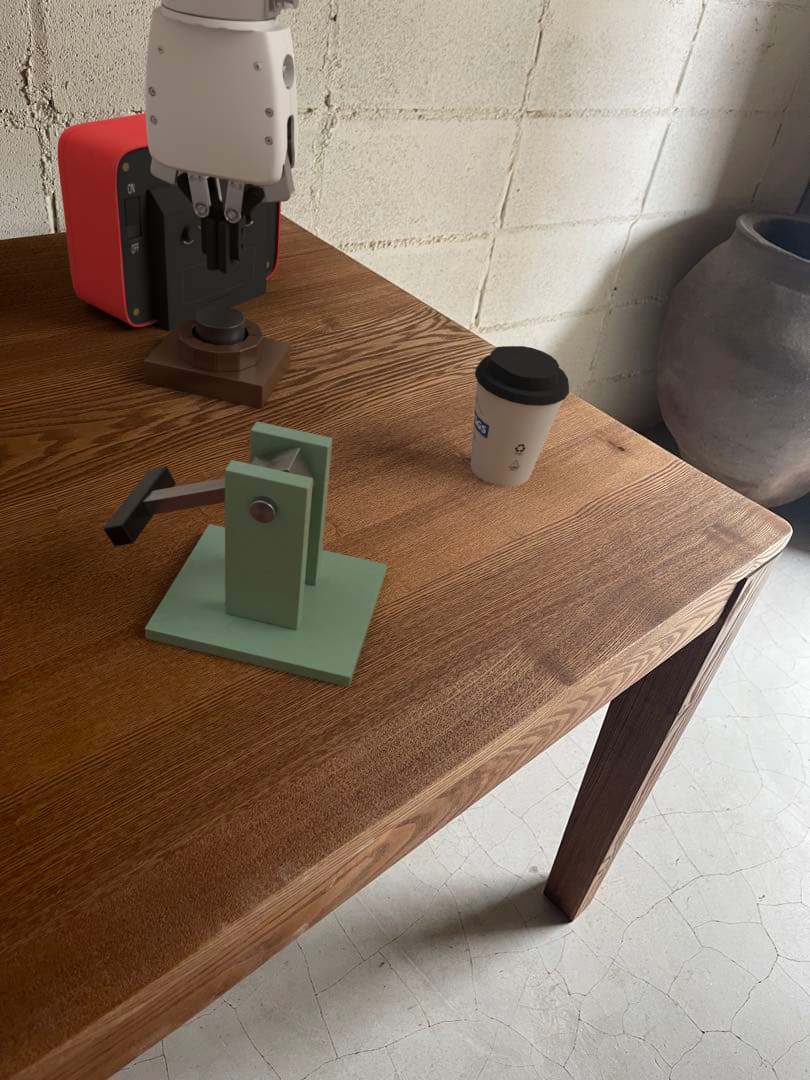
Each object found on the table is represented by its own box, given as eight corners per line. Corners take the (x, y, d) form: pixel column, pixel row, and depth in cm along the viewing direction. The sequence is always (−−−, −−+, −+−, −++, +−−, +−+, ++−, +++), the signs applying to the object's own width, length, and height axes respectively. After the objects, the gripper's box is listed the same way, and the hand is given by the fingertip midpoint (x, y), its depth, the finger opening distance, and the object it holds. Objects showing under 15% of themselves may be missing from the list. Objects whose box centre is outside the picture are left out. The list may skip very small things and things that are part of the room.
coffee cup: (549, 465, 70) (581, 354, 63) (533, 512, 64) (566, 396, 58) (466, 441, 71) (490, 330, 64) (444, 486, 65) (468, 369, 59)
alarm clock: (293, 286, 89) (302, 124, 79) (143, 346, 76) (131, 159, 66) (226, 256, 93) (226, 97, 83) (71, 308, 79) (49, 125, 69)
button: (187, 341, 70) (187, 321, 69) (206, 321, 73) (205, 302, 72) (235, 351, 70) (235, 331, 69) (251, 331, 73) (251, 311, 72)
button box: (145, 384, 71) (142, 340, 69) (182, 342, 77) (181, 300, 75) (261, 409, 70) (263, 366, 68) (290, 365, 77) (292, 324, 74)
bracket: (145, 646, 49) (131, 480, 42) (209, 540, 57) (206, 384, 50) (348, 695, 49) (370, 534, 41) (384, 581, 56) (409, 429, 49)
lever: (118, 554, 48) (97, 520, 47) (162, 494, 53) (144, 461, 51) (294, 527, 44) (277, 489, 43) (325, 464, 49) (309, 428, 48)
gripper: (344, 5, 58) (328, 266, 70) (135, -31, 60) (153, 232, 71) (315, 20, 53) (302, 302, 64) (83, -20, 54) (112, 265, 65)
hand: (224, 265), depth 68 cm, fingers closed
